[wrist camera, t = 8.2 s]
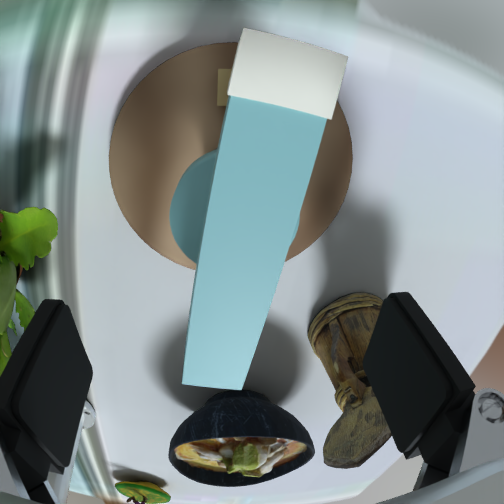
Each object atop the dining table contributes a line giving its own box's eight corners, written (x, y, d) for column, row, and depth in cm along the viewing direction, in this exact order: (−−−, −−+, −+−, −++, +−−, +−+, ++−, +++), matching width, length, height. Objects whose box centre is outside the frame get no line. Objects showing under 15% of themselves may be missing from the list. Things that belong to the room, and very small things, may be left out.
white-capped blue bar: (261, 310, 20) (274, 393, 15) (163, 297, 19) (147, 380, 13) (329, 73, 13) (392, 74, 8) (203, 44, 12) (187, 19, 7)
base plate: (128, 266, 27) (102, 329, 20) (109, 52, 18) (59, 45, 11) (330, 265, 29) (359, 325, 22) (357, 57, 20) (412, 53, 13)
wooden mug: (337, 246, 28) (432, 425, 12) (399, 320, 33) (469, 454, 18) (261, 305, 30) (292, 492, 15) (337, 363, 36) (381, 500, 21)
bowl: (162, 424, 41) (157, 484, 32) (191, 353, 33) (186, 434, 25) (269, 440, 45) (277, 495, 36) (326, 379, 37) (346, 447, 29)
